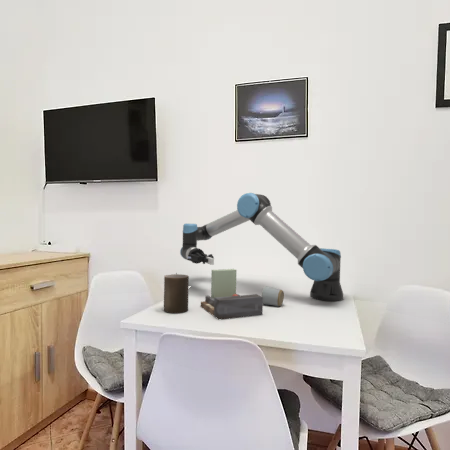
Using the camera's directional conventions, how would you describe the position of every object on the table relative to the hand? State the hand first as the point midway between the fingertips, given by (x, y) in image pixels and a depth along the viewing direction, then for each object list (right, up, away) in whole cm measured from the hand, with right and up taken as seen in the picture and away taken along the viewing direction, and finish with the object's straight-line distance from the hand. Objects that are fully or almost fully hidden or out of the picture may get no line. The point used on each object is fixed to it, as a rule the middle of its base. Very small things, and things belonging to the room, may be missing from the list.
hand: (212, 261), depth 162 cm
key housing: (+7, -18, -17) cm, 25 cm away
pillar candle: (-14, -18, -18) cm, 29 cm away
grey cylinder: (+26, -18, -6) cm, 33 cm away
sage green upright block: (+5, -15, -11) cm, 20 cm away
